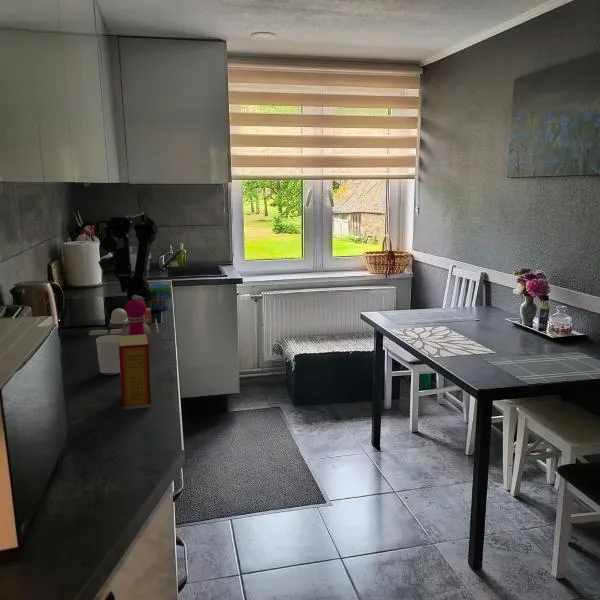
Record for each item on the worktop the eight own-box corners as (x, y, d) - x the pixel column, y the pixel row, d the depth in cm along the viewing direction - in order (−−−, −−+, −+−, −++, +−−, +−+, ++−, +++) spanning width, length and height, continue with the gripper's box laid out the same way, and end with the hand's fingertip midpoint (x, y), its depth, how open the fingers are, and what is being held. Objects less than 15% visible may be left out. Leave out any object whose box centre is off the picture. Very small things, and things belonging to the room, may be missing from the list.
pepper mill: (125, 363, 161) (121, 297, 157) (126, 356, 168) (122, 293, 164) (150, 361, 163) (147, 296, 159) (150, 354, 170) (147, 292, 166)
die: (137, 321, 209) (137, 308, 208) (151, 320, 210) (150, 307, 209) (137, 324, 204) (137, 310, 203) (151, 323, 205) (151, 310, 204)
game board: (88, 325, 205) (88, 321, 205) (156, 321, 212) (156, 317, 212) (84, 339, 186) (83, 334, 186) (158, 334, 194) (158, 330, 193)
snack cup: (162, 304, 244) (161, 282, 242) (180, 307, 239) (179, 284, 237) (136, 310, 231) (135, 287, 229) (155, 313, 226) (154, 289, 224)
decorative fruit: (131, 353, 170) (130, 323, 168) (117, 348, 176) (116, 318, 174) (157, 347, 177) (156, 318, 175) (143, 343, 183) (141, 314, 181)
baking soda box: (121, 396, 136) (118, 334, 132) (148, 393, 138) (145, 332, 134) (122, 410, 127) (118, 344, 124) (151, 407, 129) (148, 342, 126)
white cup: (130, 368, 157) (129, 334, 155) (123, 377, 149) (121, 342, 147) (103, 368, 157) (101, 334, 155) (94, 377, 149) (91, 342, 147)
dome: (110, 321, 204) (109, 307, 203) (129, 320, 206) (128, 306, 204) (109, 325, 197) (108, 310, 196) (129, 324, 199) (128, 309, 198)
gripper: (100, 247, 210) (102, 287, 213) (97, 252, 192) (100, 295, 195) (130, 246, 213) (132, 285, 216) (130, 252, 195) (132, 294, 199)
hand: (123, 290), depth 206 cm, fingers open, 9 cm apart
